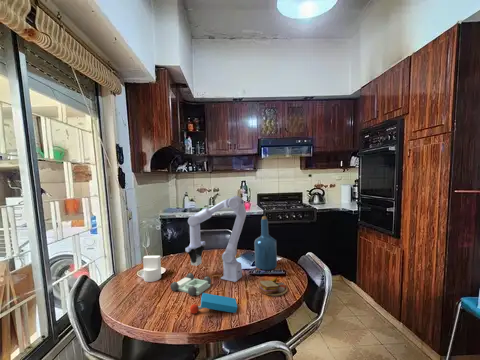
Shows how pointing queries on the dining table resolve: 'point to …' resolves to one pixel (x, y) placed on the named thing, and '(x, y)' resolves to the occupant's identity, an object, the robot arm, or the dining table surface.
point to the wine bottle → (265, 248)
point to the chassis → (191, 285)
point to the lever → (215, 303)
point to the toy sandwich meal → (272, 287)
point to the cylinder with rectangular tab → (152, 268)
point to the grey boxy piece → (197, 260)
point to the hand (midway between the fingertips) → (196, 261)
